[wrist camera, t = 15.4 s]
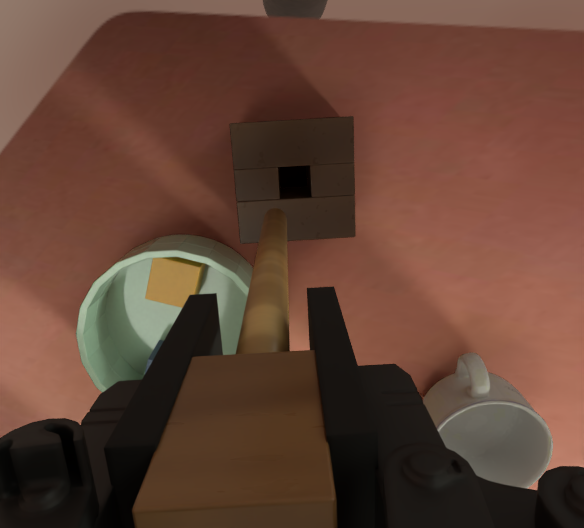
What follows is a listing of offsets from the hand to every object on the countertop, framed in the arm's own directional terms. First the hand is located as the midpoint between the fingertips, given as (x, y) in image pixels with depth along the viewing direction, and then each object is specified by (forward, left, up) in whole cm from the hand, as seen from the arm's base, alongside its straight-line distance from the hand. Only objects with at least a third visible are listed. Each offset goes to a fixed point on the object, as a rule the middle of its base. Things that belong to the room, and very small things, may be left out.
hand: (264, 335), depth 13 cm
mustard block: (+6, -9, -29) cm, 31 cm away
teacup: (+21, +17, -30) cm, 41 cm away
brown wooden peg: (0, 0, -16) cm, 16 cm away
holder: (-2, +1, -30) cm, 30 cm away
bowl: (+11, -10, -30) cm, 34 cm away
